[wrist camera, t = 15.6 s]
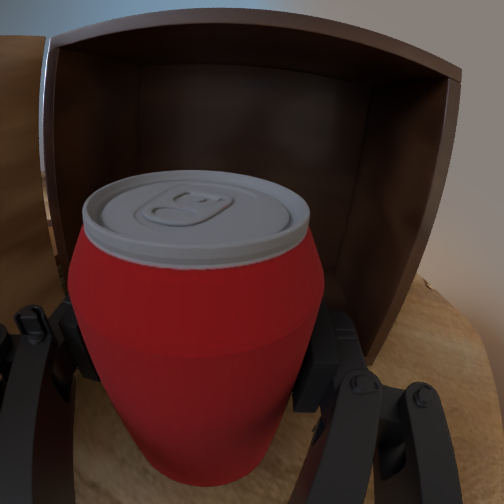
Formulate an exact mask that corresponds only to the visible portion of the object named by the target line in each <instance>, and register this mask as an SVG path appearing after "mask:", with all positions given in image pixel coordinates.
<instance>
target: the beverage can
mask: <svg viewBox="0 0 504 504" xmlns="http://www.w3.org/2000/svg"><path fill="white" fill-rule="evenodd" d="M82 214H83V225H82V228H81V230H80V233H79V237H78V240H77V243H76V246H75V249H74V253H73V256H72V260H71V263H70V267H69V272H68V291H69V296H70V299H71V303H72V306H73V309H74V312H75V316H76V319H77V322H78V325H79V328H80V330H81V333H82V336H83V339H84V341H85V344H86V347H87V349H88V352H89V354H90V357H91V359H92V362H93V364H94V366H95V369H96V371H97V373H98V375H99V378H100V380H101V382H102V384H103V386H104V388H105V390H106V392H107V394H108V396H109V398H110V400H111V402H112V404H113V406H114V408H115V410H116V412H117V414H118V415H119V417H120V419H121V421H122V422H123V424H124V426H125V427H126V429H127V431H128V432H129V434H130V436H131V437H132V439H133V440H134V442H135V443H136V445H137V446H138V448H139V449H140V451H141V452H142V454H143V455H144V457H145V458H146V459H147V461H148V462H149V463H150V464H151V465H152V466H153V467H154V468H155V469H156V470H158V471H159V472H160V473H162V474H163V475H165V476H167V477H168V478H170V479H172V480H175V481H177V482H180V483H183V484H187V485H192V486H200V487H211V486H219V485H224V484H228V483H231V482H234V481H236V480H238V479H240V478H242V477H244V476H245V475H247V474H248V473H250V472H251V471H252V470H253V469H254V468H256V466H257V465H258V464H259V463H260V462H261V460H262V459H263V457H264V456H265V454H266V452H267V450H268V448H269V446H270V443H271V441H272V439H273V437H274V435H275V432H276V430H277V428H278V426H279V423H280V421H281V418H282V416H283V413H284V411H285V408H286V406H287V403H288V401H289V398H290V395H291V393H292V390H293V387H294V385H295V382H296V379H297V377H298V374H299V371H300V368H301V365H302V362H303V359H304V356H305V353H306V350H307V347H308V344H309V341H310V337H311V334H312V331H313V327H314V324H315V321H316V317H317V314H318V310H319V307H320V303H321V300H322V296H323V293H324V286H325V285H324V273H323V268H322V264H321V261H320V258H319V255H318V252H317V249H316V245H315V242H314V239H313V236H312V233H311V230H310V228H309V225H308V224H309V218H310V210H309V207H308V205H307V203H306V202H305V200H304V199H303V198H301V197H300V196H299V195H298V194H296V193H295V192H293V191H291V190H290V189H288V188H286V187H283V186H281V185H279V184H276V183H273V182H270V181H267V180H264V179H260V178H256V177H252V176H247V175H242V174H236V173H229V172H220V171H207V170H175V171H162V172H154V173H147V174H141V175H137V176H132V177H128V178H125V179H121V180H118V181H116V182H113V183H110V184H108V185H106V186H104V187H102V188H100V189H98V190H97V191H95V192H94V193H93V194H91V195H90V196H89V197H88V198H87V200H86V201H85V203H84V205H83V209H82Z"/></svg>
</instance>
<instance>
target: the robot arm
mask: <svg viewBox="0 0 504 504" xmlns="http://www.w3.org/2000/svg"><path fill="white" fill-rule="evenodd" d="M13 319H14V321H15V323H16V325H17V327H18V329H19V331H20V334H21V335H20V334H9V333H8V331H7V329H6V327H5V325H3V324H1V323H0V374H1V375H2V378H1V380H0V504H76V502H75V490H74V474H73V423H74V406H75V394H76V378H75V376H74V373H75V371H76V369H77V367H78V369H79V371H80V373H81V375H82V377H84V378H87V379H91V380H94V381H97V382H100V378H99V375H98V373H97V371H96V369H95V366H94V364H93V362H92V359H91V357H90V354H89V352H88V349H87V347H86V344H85V341H84V339H83V336H82V333H81V330H80V328H79V325H78V322H77V319H76V316H75V312H74V309H73V306H72V303H71V299H70V296H69V293H68V296H66V297H65V298H64V299H63V301H62V302H61V303H60V304H59V306H58V307H57V308H56V309H55V311H54V312H53V313H52V314H51V316H50V317H49V318H48V319H47V316H46V314H45V311H44V309H43V308H42V307H41V306H39V305H27V306H25V307H23V308H21V309H20V310H18V311H17V312H16V313H15V315H14V316H13ZM357 338H358V337H357V334H356V332H355V328H354V325H353V322H352V320H351V319H350V317H349V316H348V315H347V314H346V313H345V312H344V311H340V310H327V307H326V303H325V300H324V296H322V300H321V303H320V307H319V310H318V314H317V317H316V321H315V324H314V327H313V331H312V334H311V337H310V341H309V344H308V347H307V350H306V353H305V356H304V359H303V362H302V365H301V368H300V371H299V374H298V377H297V379H296V382H295V385H294V387H293V390H292V397H293V412H300V413H315V412H316V410H317V408H318V407H319V405H320V410H321V417H320V418H319V420H318V422H317V423H316V425H315V426H314V428H313V430H312V432H314V434H313V437H312V440H311V443H310V446H309V449H308V452H307V455H306V458H305V461H304V463H303V466H302V469H301V471H300V474H299V477H298V479H297V482H296V484H295V487H294V489H293V492H292V494H291V497H290V499H289V501H288V504H363V502H364V498H365V495H366V490H367V486H368V482H369V477H370V473H371V468H372V462H373V472H374V495H375V504H463V502H462V494H461V487H460V481H459V475H458V470H457V465H456V460H455V455H454V450H453V446H452V442H451V437H450V433H449V429H448V426H447V422H446V418H445V415H444V411H443V408H442V404H441V401H440V398H439V395H438V393H437V391H436V390H435V389H434V388H433V387H432V386H431V385H429V384H427V383H424V382H414V383H412V384H411V385H409V386H408V387H407V388H406V390H402V389H397V388H392V387H388V386H385V385H382V383H381V382H380V380H379V378H378V377H377V376H376V375H375V374H373V373H372V372H370V371H368V368H367V365H366V362H365V359H364V356H363V353H362V349H361V346H360V343H359V340H357Z"/></svg>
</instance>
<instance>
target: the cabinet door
mask: <svg viewBox="0 0 504 504" xmlns="http://www.w3.org/2000/svg"><path fill="white" fill-rule="evenodd" d="M45 39H46V37H45V36H22V35H4V36H3V35H1V36H0V323H1V324H3V325H5V327H6V329H7V331H8V333H9V334H20V331H19V329H18V327H17V325H16V323H15V321H14V319H13V316H14V315H15V313H16V312H17V311H18V310H20V309H21V308H23V307H25V306H27V305H39V306H41V307H42V308H43V309H44V311H45V314H46V316H47V319H48V318H49V317H50V316H51V314H52V313H53V312H54V311H55V309H56V308H57V307H58V306H59V304H60V303H61V302H62V301H63V299H64V298H65V294H64V290H63V287H62V284H61V280H60V276H59V273H58V269H57V265H56V261H55V257H54V253H53V248H52V244H51V239H50V234H49V229H48V223H47V217H46V211H45V205H44V197H43V190H42V181H41V170H40V157H39V134H38V133H39V130H38V129H39V128H38V124H39V123H38V122H39V118H38V116H39V91H40V77H41V67H42V60H43V52H44V45H45ZM20 335H21V334H20ZM1 378H2V375H1V374H0V380H1Z"/></svg>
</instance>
